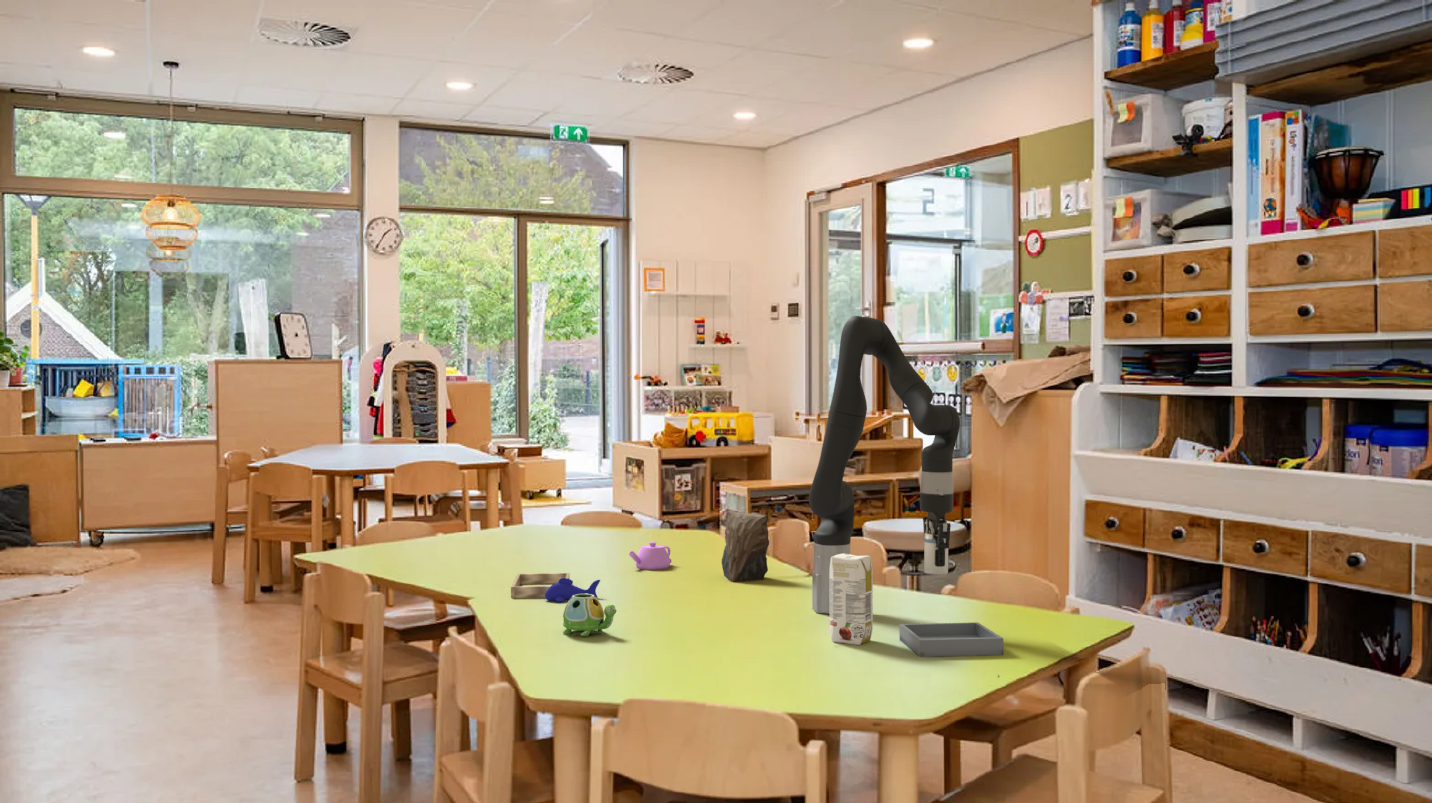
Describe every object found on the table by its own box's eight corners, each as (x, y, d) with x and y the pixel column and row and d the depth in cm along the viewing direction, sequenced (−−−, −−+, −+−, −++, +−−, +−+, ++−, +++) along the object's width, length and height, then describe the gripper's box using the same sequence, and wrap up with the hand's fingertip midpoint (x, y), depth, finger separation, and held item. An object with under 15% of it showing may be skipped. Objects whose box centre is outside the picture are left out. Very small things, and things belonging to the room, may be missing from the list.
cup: (927, 574, 251) (928, 535, 251) (921, 570, 257) (921, 531, 256) (951, 574, 252) (951, 534, 252) (944, 570, 257) (944, 531, 257)
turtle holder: (606, 639, 247) (606, 601, 247) (555, 634, 252) (555, 597, 252) (623, 631, 255) (623, 594, 255) (574, 626, 260) (574, 590, 260)
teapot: (679, 572, 338) (679, 542, 338) (637, 577, 330) (637, 546, 330) (662, 568, 347) (662, 538, 347) (620, 572, 338) (620, 542, 338)
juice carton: (861, 646, 239) (861, 559, 238) (826, 642, 243) (825, 556, 243) (875, 640, 245) (875, 555, 245) (840, 635, 250) (840, 552, 249)
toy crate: (511, 602, 290) (511, 587, 290) (517, 588, 312) (517, 573, 312) (566, 601, 292) (566, 586, 292) (569, 587, 313) (569, 573, 313)
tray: (919, 657, 229) (919, 640, 229) (899, 639, 245) (899, 624, 245) (1003, 654, 231) (1003, 638, 231) (977, 637, 247) (977, 622, 247)
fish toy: (548, 607, 283) (548, 581, 283) (541, 602, 290) (541, 577, 290) (604, 603, 289) (604, 577, 289) (596, 598, 296) (596, 573, 296)
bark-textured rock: (720, 578, 328) (720, 511, 328) (761, 576, 330) (761, 510, 330) (730, 585, 315) (730, 515, 315) (772, 583, 318) (772, 514, 318)
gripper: (912, 488, 261) (911, 559, 261) (929, 494, 246) (929, 569, 247) (943, 488, 261) (942, 559, 262) (962, 494, 247) (961, 569, 247)
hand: (936, 563), depth 254 cm, fingers closed on cup, 5 cm apart
